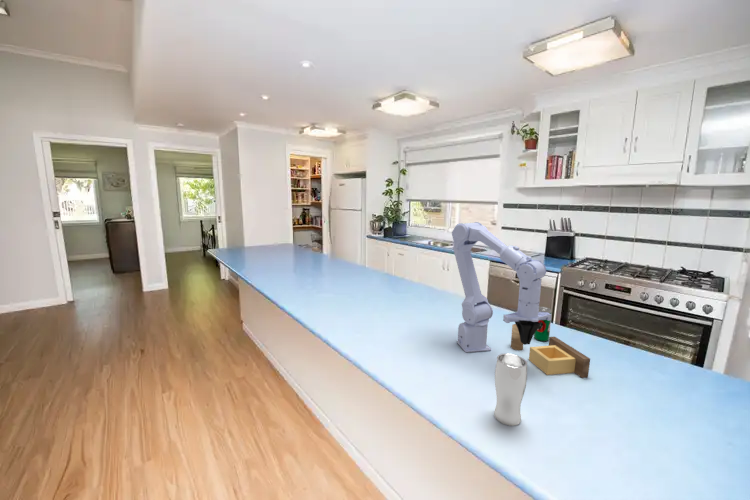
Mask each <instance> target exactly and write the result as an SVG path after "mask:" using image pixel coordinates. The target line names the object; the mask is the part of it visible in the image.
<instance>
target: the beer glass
mask: <svg viewBox="0 0 750 500" xmlns="http://www.w3.org/2000/svg"><path fill="white" fill-rule="evenodd" d="M494 369H495V370H494V371H495V372H494V385H495V393H496V395H495V396H496V404H495V407H494V411H493V416H494V418H495V419H496V420H497V421H498V422H499V423H500V424H503V425H505V426H510V427H514V426H515V427H516V426H519V424H521V422H522V414H521V404H522V401H523V397H524V395H525V391H526V387H527V382H528V381H527V380H528V361H527V360H526V359H525V358H524V357H523V356H520V355H517V354H514V353H501V354H499V355H498V356H497V358H496V364H495V368H494Z"/></svg>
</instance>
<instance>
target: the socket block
mask: <svg viewBox="0 0 750 500" xmlns="http://www.w3.org/2000/svg"><path fill="white" fill-rule="evenodd" d="M528 360H529V361H530V362H531V363H532V364H533V365H535V367H536V368H538V369H540V371H542V372H543V373H544V374H545V375H547V376H549V375H551V376H552V375H561V374H562V375H563V374H574V371H575V362H576V359H575V358H574V357H572V356H571V355H569V354H568V353H566V352H565V351H563V350H562V349H560V348H559V347H557V346H556V345H551V346H549V345H540V346H530V347H529V357H528Z"/></svg>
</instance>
